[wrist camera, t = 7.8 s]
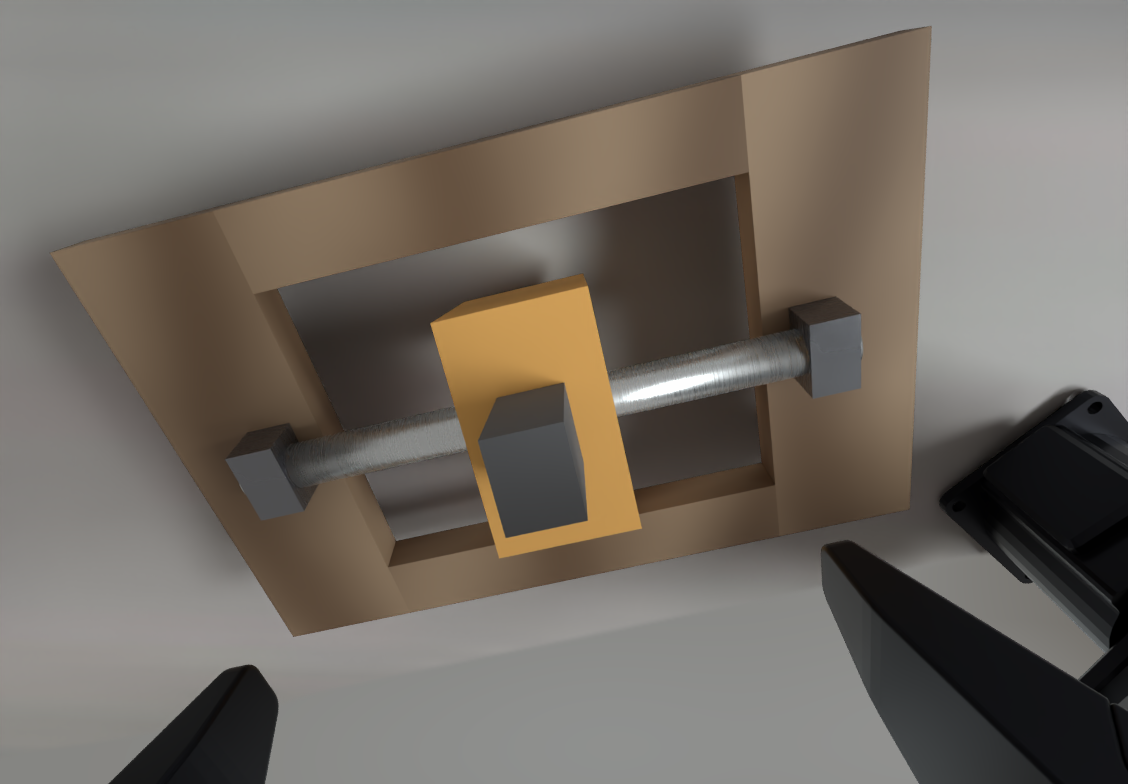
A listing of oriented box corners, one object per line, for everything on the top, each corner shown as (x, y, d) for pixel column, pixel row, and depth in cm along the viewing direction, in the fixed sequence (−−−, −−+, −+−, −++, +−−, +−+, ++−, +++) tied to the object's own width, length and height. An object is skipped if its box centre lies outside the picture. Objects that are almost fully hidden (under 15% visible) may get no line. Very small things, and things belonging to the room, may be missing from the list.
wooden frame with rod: (844, 39, 16) (931, 25, 12) (849, 442, 22) (909, 509, 18) (147, 219, 17) (49, 253, 14) (329, 553, 23) (293, 637, 20)
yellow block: (582, 273, 17) (593, 299, 10) (624, 461, 19) (660, 601, 12) (463, 302, 18) (392, 347, 10) (514, 485, 19) (482, 637, 12)
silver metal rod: (838, 294, 15) (865, 312, 14) (839, 364, 16) (865, 387, 15) (244, 431, 16) (221, 460, 15) (278, 489, 17) (257, 521, 16)
